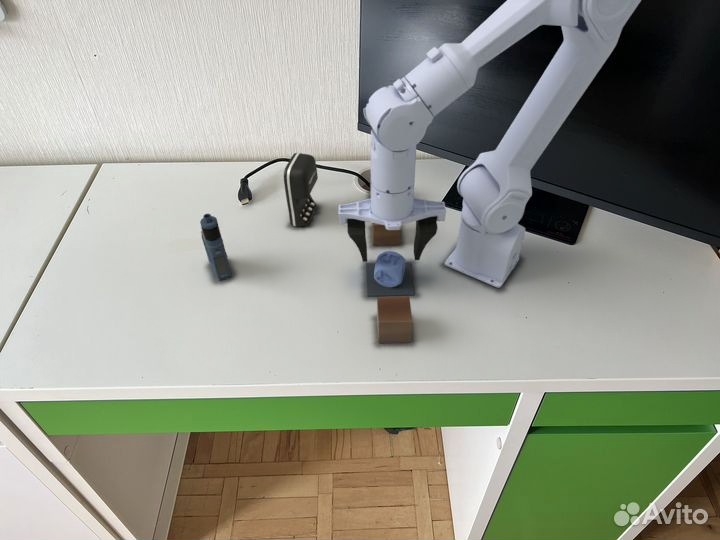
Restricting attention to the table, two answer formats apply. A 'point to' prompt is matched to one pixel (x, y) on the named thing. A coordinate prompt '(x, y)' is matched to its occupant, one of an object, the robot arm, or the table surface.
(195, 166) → the table surface
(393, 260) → the decorative dice
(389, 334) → the block near
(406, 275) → the pad
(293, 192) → the battery charger
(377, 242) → the block mid
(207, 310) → the table surface
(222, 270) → the vaping device
